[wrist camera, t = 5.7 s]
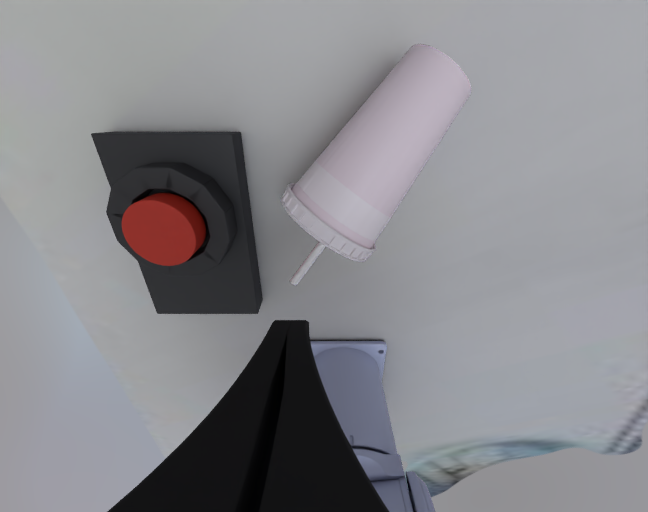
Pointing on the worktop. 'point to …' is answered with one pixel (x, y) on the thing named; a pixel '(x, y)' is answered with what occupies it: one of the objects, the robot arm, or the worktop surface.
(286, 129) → the worktop surface
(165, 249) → the power button
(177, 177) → the black base plate
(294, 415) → the robot arm
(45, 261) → the worktop surface
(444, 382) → the worktop surface
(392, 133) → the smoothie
